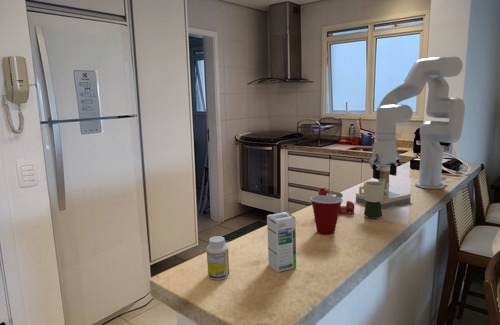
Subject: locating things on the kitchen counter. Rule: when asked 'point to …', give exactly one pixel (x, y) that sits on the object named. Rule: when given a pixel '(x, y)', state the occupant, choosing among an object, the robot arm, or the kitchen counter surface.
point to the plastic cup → (326, 213)
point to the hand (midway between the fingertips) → (384, 176)
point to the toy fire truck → (343, 209)
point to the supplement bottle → (217, 258)
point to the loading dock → (391, 201)
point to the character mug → (373, 198)
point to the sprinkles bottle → (384, 176)
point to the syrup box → (281, 241)
